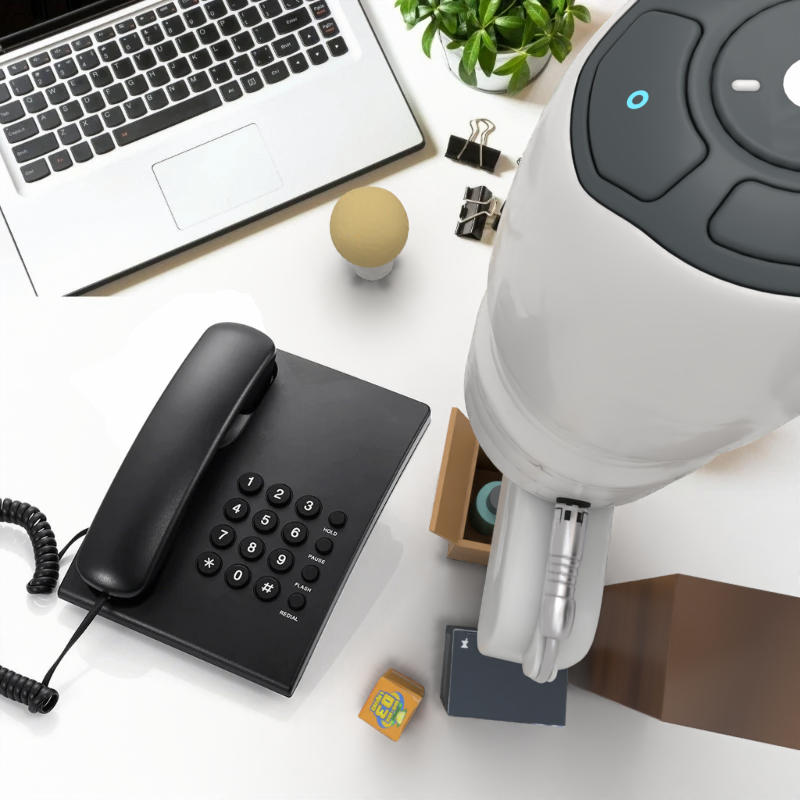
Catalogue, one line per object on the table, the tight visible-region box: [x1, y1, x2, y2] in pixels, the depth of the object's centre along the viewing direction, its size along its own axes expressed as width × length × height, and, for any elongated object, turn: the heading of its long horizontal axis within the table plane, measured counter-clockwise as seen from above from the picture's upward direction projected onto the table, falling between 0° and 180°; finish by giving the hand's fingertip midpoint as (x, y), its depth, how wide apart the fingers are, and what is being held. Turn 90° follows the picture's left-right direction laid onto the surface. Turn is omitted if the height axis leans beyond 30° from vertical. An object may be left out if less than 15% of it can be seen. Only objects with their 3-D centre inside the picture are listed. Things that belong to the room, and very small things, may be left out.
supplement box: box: [357, 667, 425, 743], centre depth 57 cm, size 3×3×10 cm
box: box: [439, 624, 569, 728], centre depth 57 cm, size 8×6×11 cm
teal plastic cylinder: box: [469, 481, 502, 536], centre depth 60 cm, size 3×3×10 cm
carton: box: [446, 438, 611, 567], centre depth 59 cm, size 10×8×12 cm
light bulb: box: [329, 185, 410, 281], centre depth 66 cm, size 6×6×10 cm
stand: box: [567, 572, 800, 751], centre depth 51 cm, size 7×7×25 cm
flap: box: [428, 406, 476, 544], centre depth 52 cm, size 5×8×1 cm
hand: (533, 454), depth 41 cm, fingers open, 4 cm apart
